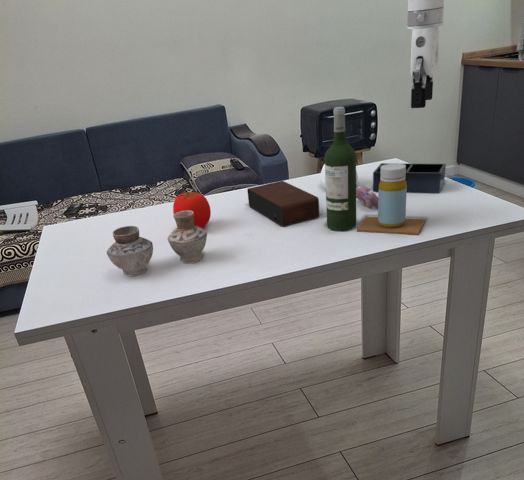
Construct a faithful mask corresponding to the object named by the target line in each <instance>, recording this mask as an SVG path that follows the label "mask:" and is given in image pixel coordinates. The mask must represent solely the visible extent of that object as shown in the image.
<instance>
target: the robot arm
mask: <svg viewBox="0 0 524 480" xmlns="http://www.w3.org/2000/svg"><path fill="white" fill-rule="evenodd" d="M444 5H445V0H407V21H406V22H407V24H406V26H407V30H411V39H410V40H411V43H410V77H411V78H412V83H411V92H410V108H411V109H423V108H425V107H426V105H427V101H431V100H432V99H433V93H434V92H433V90H434V81H433V80H434V76H435V75H436V74H437V73H438V72H439V49H440V48H439V47H440V46H439V45H440V43H439V41H440V35H439V34H440V33H439V32H440V31H439V27H440V26H443V24H444V10H445V9H444Z"/></svg>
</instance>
